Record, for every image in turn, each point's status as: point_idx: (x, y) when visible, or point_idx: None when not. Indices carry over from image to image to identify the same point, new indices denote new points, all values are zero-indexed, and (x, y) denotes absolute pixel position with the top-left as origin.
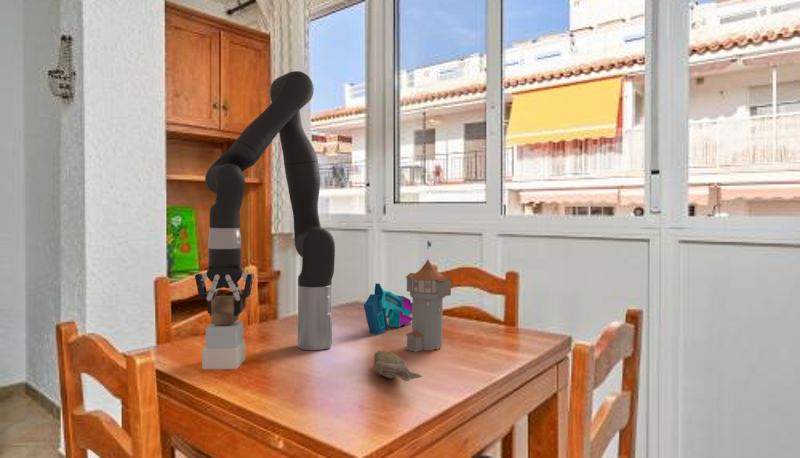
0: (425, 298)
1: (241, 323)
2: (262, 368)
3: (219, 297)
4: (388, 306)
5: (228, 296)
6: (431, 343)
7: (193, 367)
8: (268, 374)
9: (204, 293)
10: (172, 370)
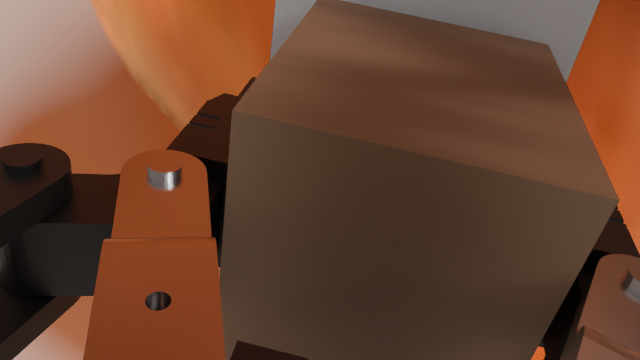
0: None
1: (573, 53)
2: (628, 140)
3: (298, 285)
4: None
5: (433, 243)
6: None
7: (250, 33)
8: (635, 236)
9: (52, 290)
10: (161, 62)
